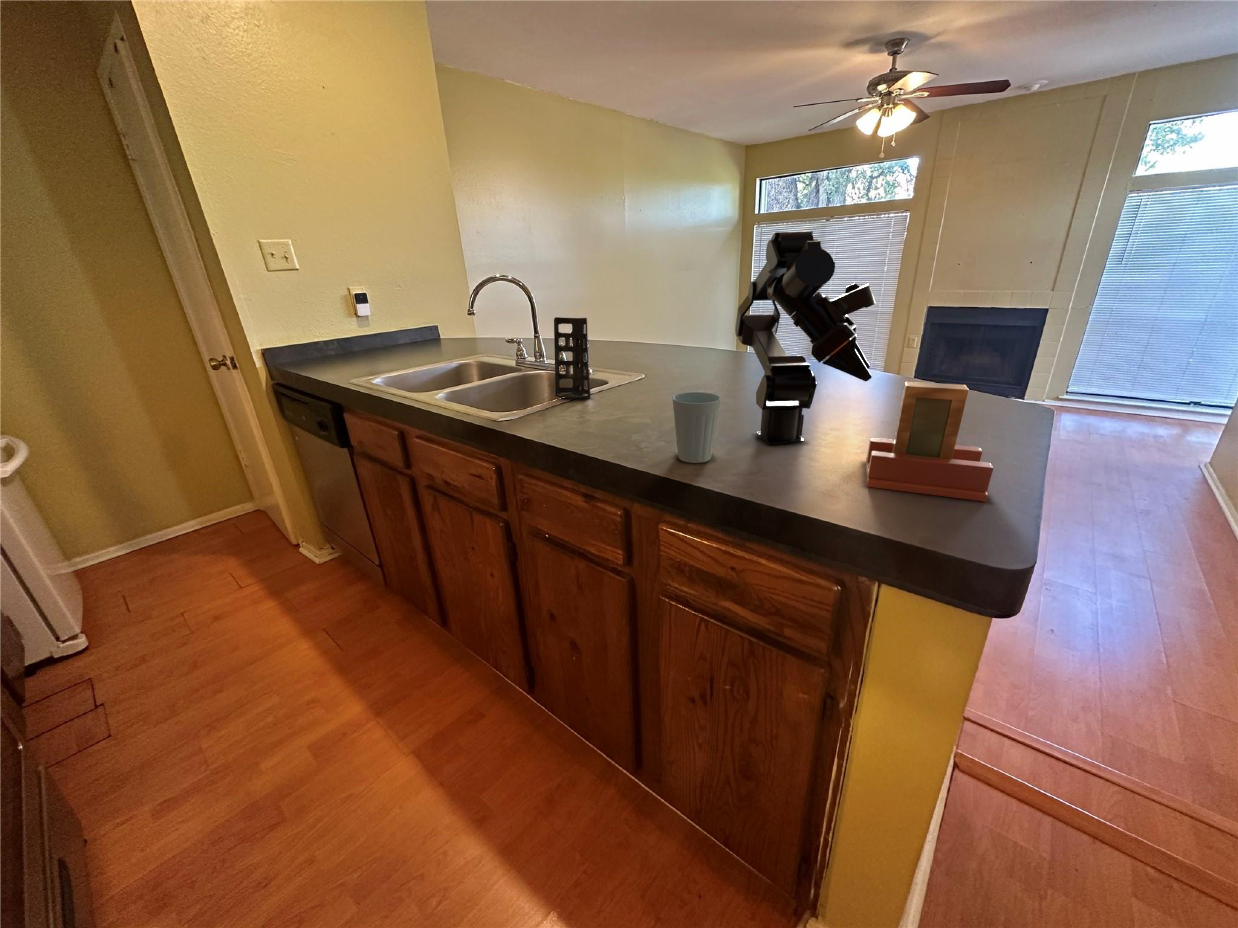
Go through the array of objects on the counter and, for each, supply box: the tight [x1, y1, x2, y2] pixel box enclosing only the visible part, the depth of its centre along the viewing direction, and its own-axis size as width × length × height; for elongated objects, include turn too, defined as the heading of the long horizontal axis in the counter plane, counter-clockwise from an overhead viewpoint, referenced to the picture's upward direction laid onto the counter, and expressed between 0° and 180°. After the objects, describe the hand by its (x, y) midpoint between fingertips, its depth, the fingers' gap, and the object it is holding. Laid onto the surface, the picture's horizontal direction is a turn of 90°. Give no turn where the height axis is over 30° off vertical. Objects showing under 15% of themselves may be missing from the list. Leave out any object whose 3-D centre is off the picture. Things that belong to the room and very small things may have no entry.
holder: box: [553, 316, 592, 401], centre depth 122 cm, size 11×8×20 cm
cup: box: [672, 391, 721, 464], centre depth 79 cm, size 8×8×10 cm
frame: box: [892, 381, 970, 459], centre depth 66 cm, size 7×3×13 cm, turn 63°
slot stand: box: [865, 437, 994, 503], centre depth 68 cm, size 14×10×4 cm
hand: (868, 374), depth 79 cm, fingers open, 9 cm apart
